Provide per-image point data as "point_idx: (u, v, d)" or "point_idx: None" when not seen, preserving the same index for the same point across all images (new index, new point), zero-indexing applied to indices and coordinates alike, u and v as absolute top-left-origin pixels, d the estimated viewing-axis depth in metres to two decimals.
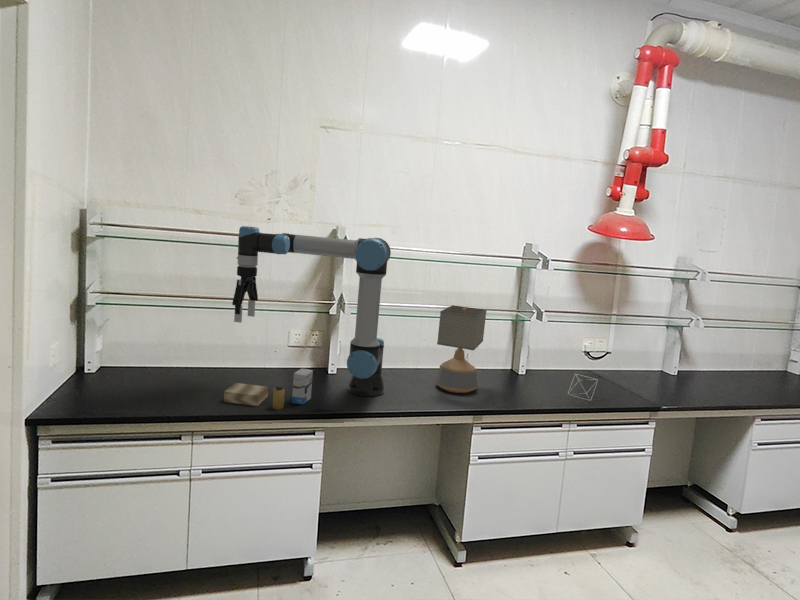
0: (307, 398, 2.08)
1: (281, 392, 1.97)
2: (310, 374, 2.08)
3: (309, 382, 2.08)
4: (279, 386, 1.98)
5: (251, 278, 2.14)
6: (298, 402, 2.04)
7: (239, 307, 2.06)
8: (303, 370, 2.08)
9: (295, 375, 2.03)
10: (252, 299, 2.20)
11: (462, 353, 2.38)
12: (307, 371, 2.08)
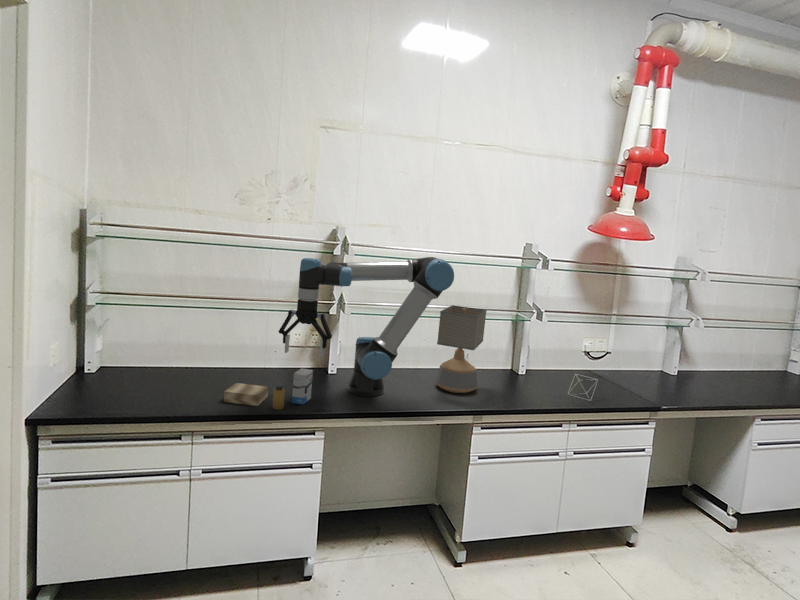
0: (307, 398, 2.08)
1: (281, 392, 1.97)
2: (310, 374, 2.08)
3: (309, 382, 2.08)
4: (279, 386, 1.98)
5: (312, 313, 2.02)
6: (298, 402, 2.04)
7: (284, 336, 2.05)
8: (303, 370, 2.08)
9: (295, 375, 2.03)
10: (323, 338, 2.04)
11: (462, 353, 2.38)
12: (307, 371, 2.08)
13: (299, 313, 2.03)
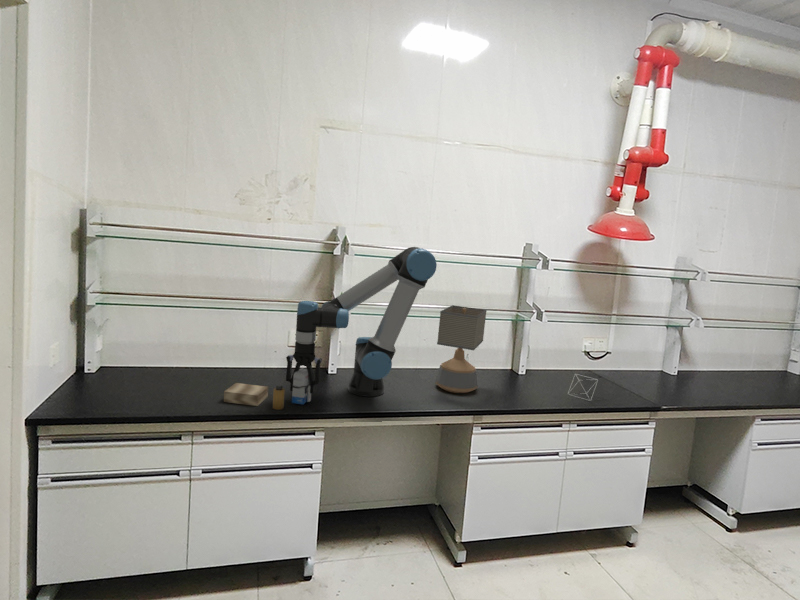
0: None
1: (281, 392, 1.97)
2: None
3: (309, 382, 2.08)
4: (279, 386, 1.98)
5: (310, 355, 2.04)
6: (298, 402, 2.04)
7: (291, 384, 2.07)
8: (303, 370, 2.08)
9: (295, 375, 2.03)
10: None
11: (462, 353, 2.38)
12: (307, 371, 2.08)
13: (296, 355, 2.05)
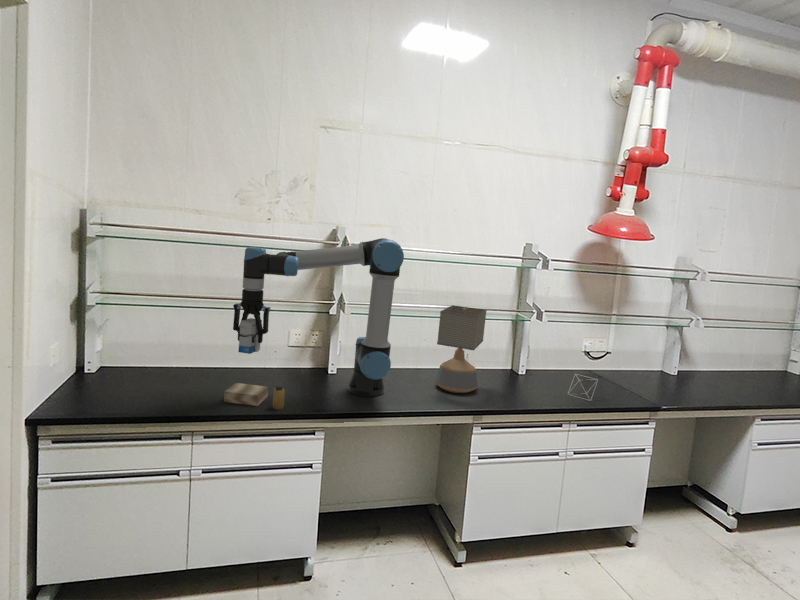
0: None
1: (281, 392, 1.97)
2: None
3: (257, 332, 2.01)
4: (279, 386, 1.98)
5: (258, 303, 1.98)
6: (245, 351, 1.98)
7: (239, 334, 2.01)
8: (251, 319, 2.02)
9: (242, 323, 1.97)
10: None
11: (462, 353, 2.38)
12: None
13: (244, 303, 1.99)
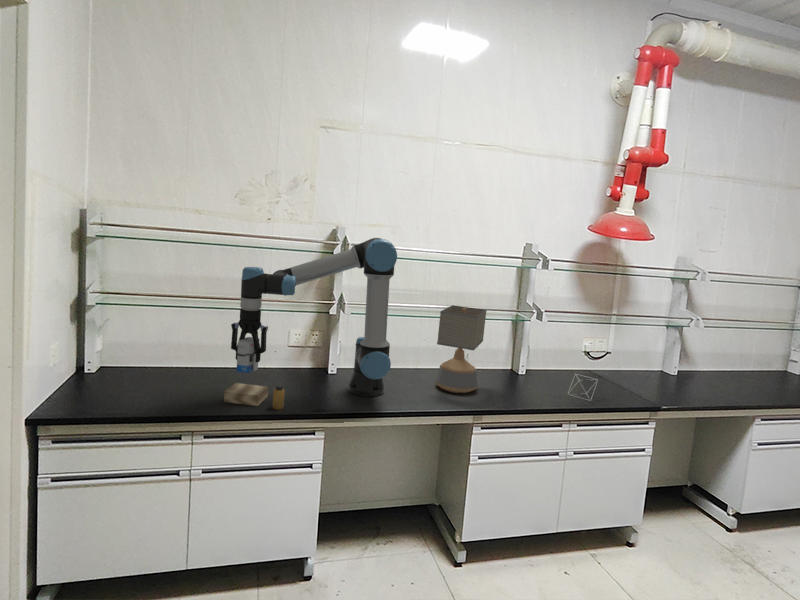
0: None
1: (281, 392, 1.97)
2: None
3: (255, 351, 2.02)
4: (279, 386, 1.98)
5: (255, 322, 1.99)
6: (243, 370, 1.99)
7: None
8: (249, 338, 2.03)
9: (239, 342, 1.98)
10: None
11: (462, 353, 2.38)
12: None
13: (241, 322, 2.00)
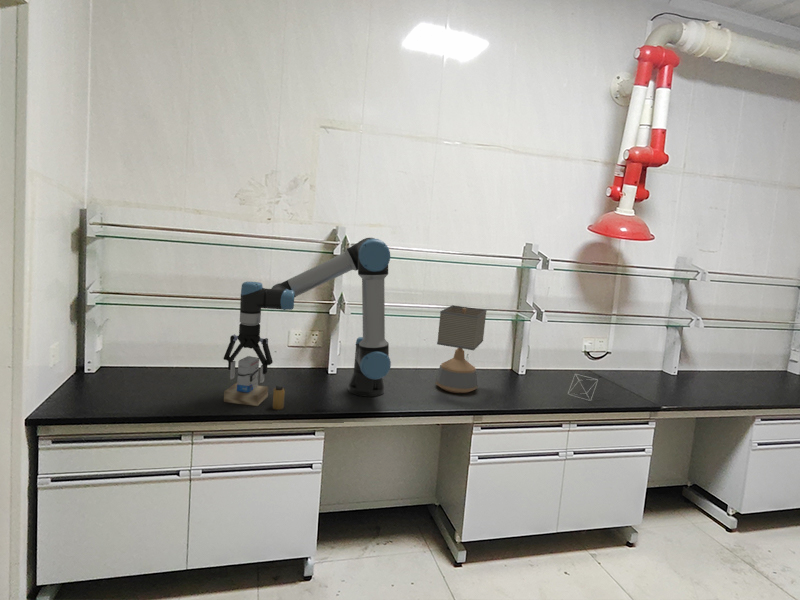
0: (253, 386, 2.04)
1: (281, 392, 1.97)
2: (256, 362, 2.04)
3: (255, 370, 2.04)
4: (279, 386, 1.98)
5: (254, 337, 2.00)
6: (243, 390, 2.00)
7: (229, 363, 2.03)
8: (249, 358, 2.04)
9: (240, 362, 1.99)
10: None
11: (462, 353, 2.38)
12: (253, 359, 2.04)
13: (241, 337, 2.00)
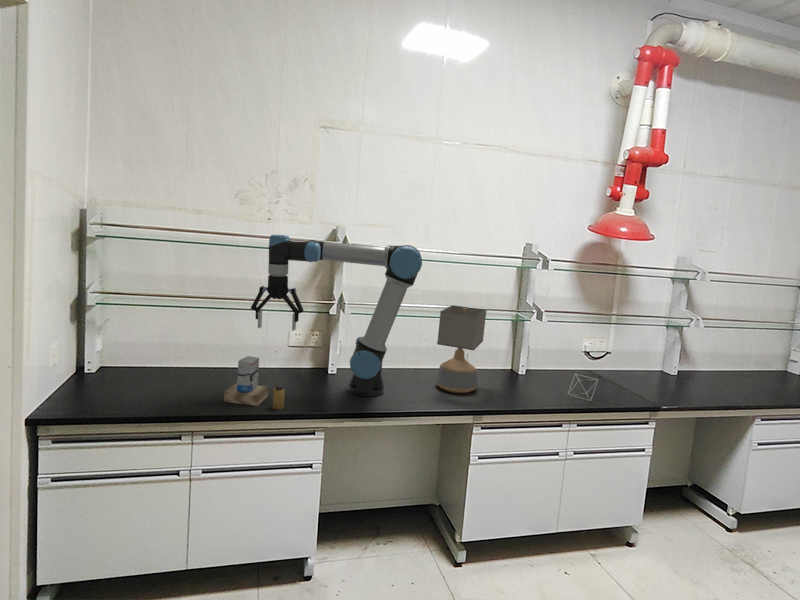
0: (253, 386, 2.04)
1: (281, 392, 1.97)
2: (256, 362, 2.04)
3: (255, 370, 2.04)
4: (279, 386, 1.98)
5: (282, 288, 2.08)
6: (243, 390, 2.00)
7: (257, 312, 2.10)
8: (249, 358, 2.04)
9: (240, 362, 1.99)
10: (295, 312, 2.10)
11: (462, 353, 2.38)
12: (253, 359, 2.04)
13: (270, 289, 2.08)
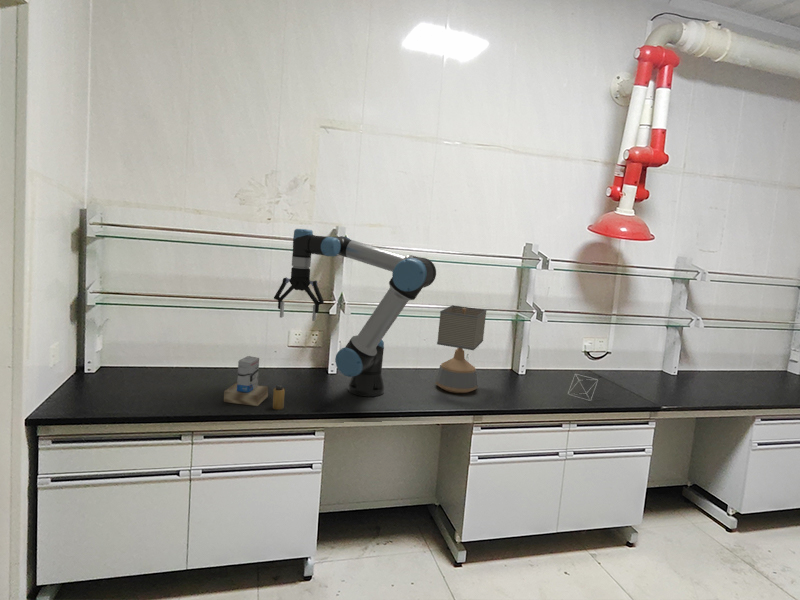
0: (253, 386, 2.04)
1: (281, 392, 1.97)
2: (256, 362, 2.04)
3: (255, 370, 2.04)
4: (279, 386, 1.98)
5: (304, 280, 2.17)
6: (243, 390, 2.00)
7: (279, 302, 2.20)
8: (249, 358, 2.04)
9: (240, 362, 1.99)
10: None
11: (462, 353, 2.38)
12: (253, 359, 2.04)
13: (293, 280, 2.18)
